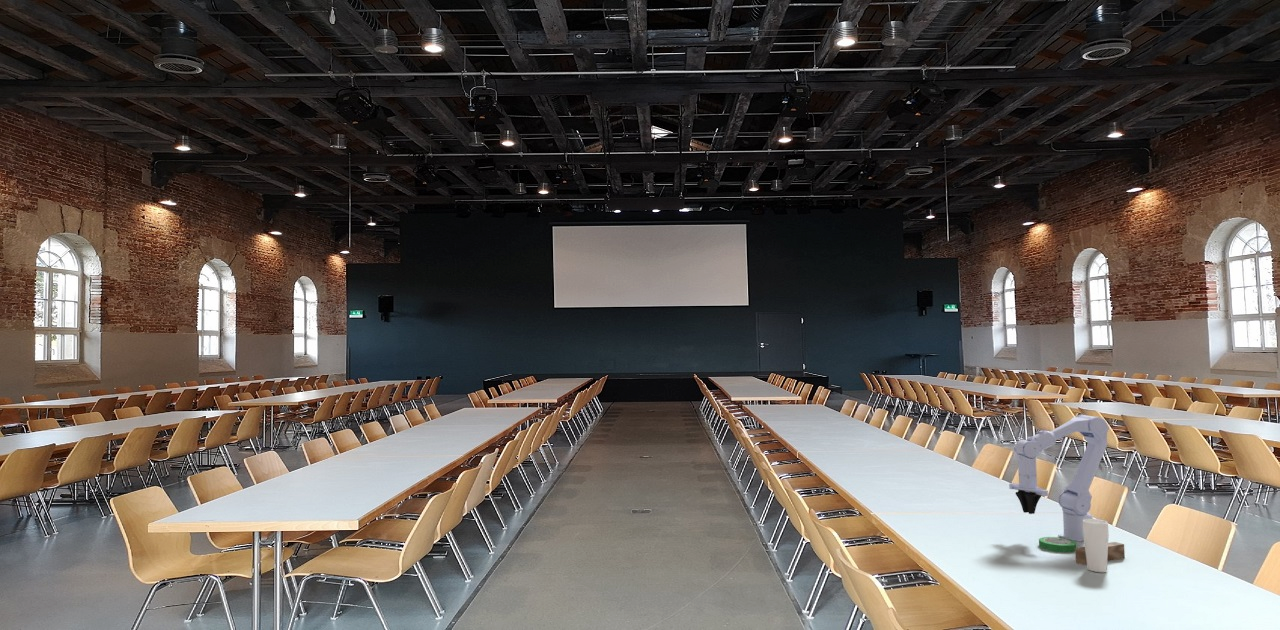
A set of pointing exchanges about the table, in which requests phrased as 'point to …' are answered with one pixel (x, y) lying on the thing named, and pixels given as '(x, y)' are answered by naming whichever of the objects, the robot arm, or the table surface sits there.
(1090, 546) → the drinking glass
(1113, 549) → the brown wooden bar
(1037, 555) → the table surface
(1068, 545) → the tape roll
